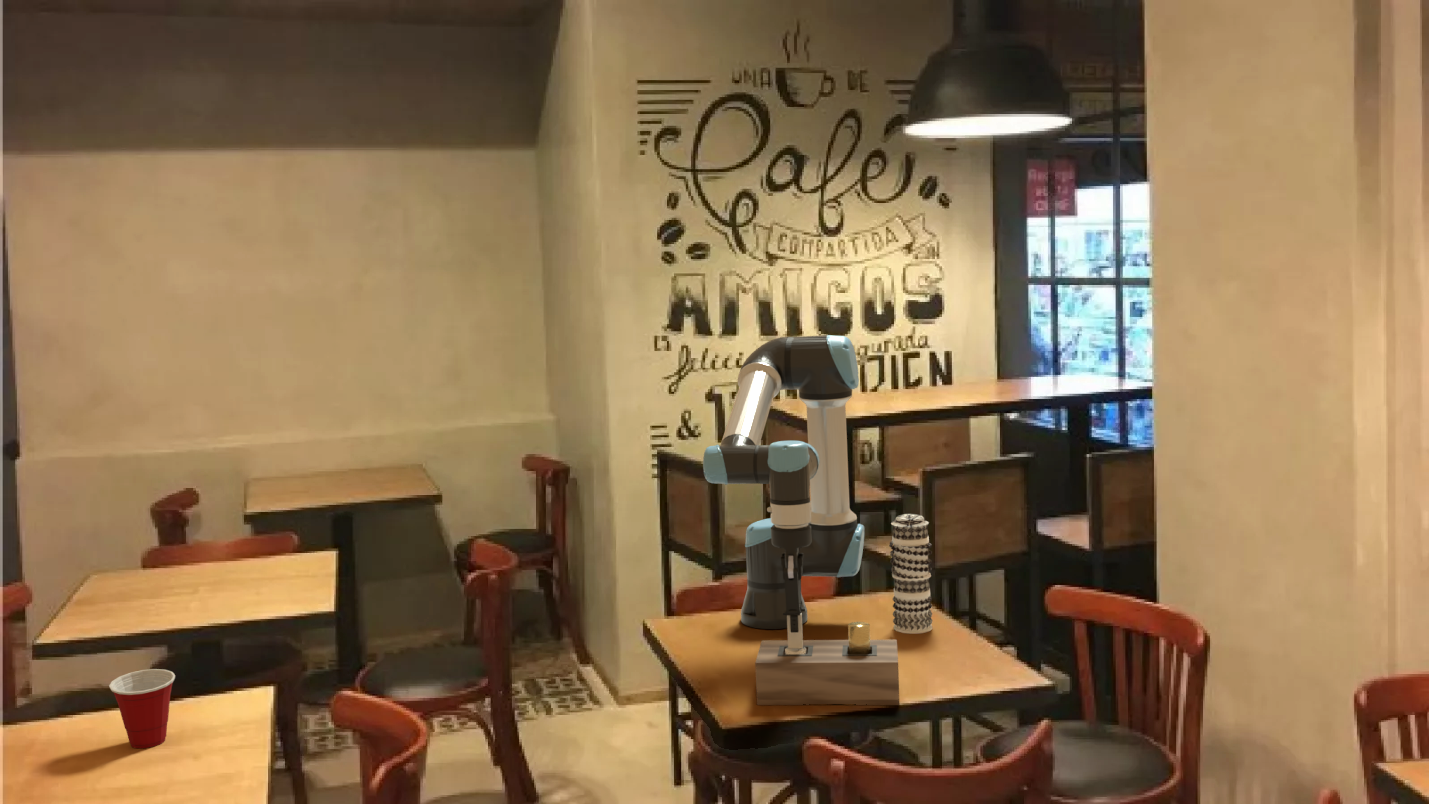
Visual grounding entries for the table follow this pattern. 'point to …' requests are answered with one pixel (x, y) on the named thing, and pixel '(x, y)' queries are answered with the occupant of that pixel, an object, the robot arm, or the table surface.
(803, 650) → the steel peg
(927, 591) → the white patterned cylinder
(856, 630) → the brass peg
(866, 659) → the walnut block
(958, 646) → the table surface
